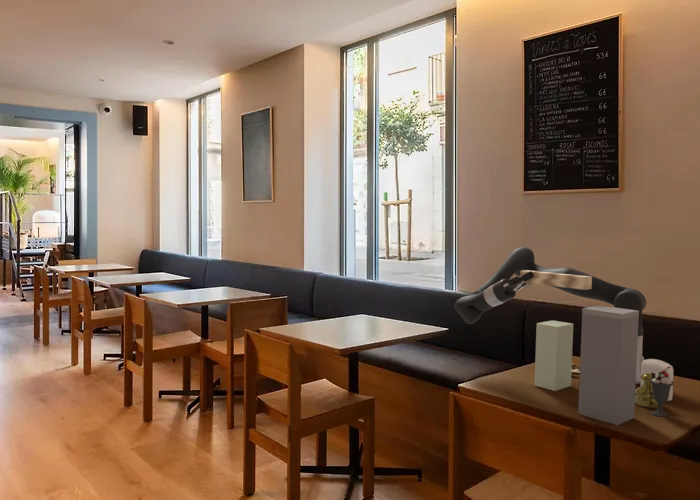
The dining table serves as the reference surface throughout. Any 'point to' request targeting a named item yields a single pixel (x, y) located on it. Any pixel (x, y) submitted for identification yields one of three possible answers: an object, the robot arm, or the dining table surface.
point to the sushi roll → (575, 371)
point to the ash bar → (559, 280)
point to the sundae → (661, 390)
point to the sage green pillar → (553, 355)
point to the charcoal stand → (608, 363)
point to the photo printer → (657, 370)
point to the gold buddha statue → (645, 393)
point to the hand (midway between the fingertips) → (536, 273)
